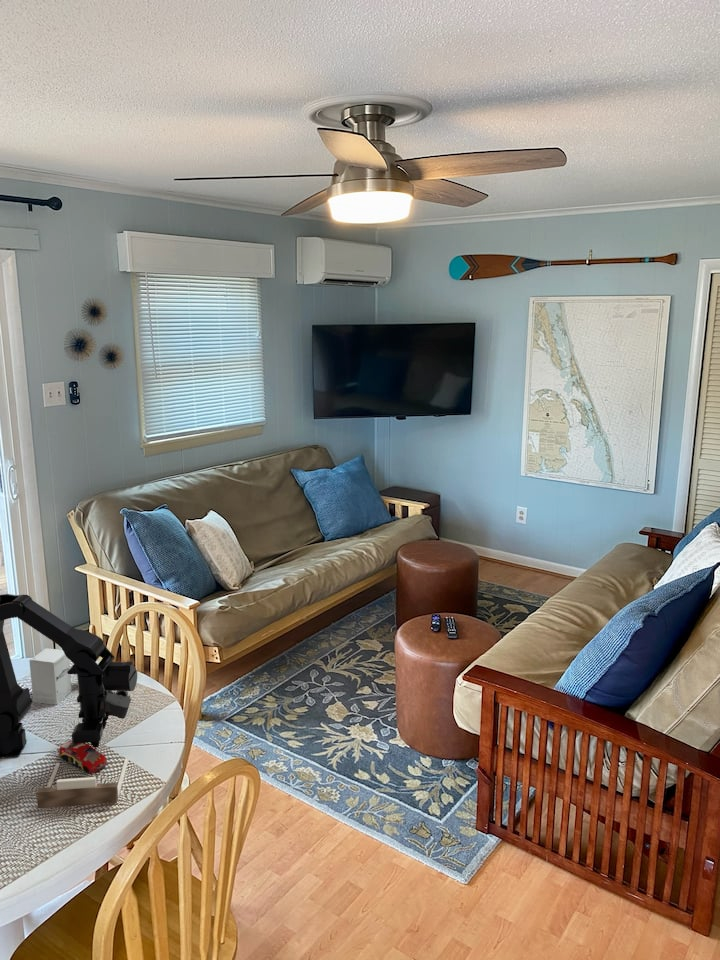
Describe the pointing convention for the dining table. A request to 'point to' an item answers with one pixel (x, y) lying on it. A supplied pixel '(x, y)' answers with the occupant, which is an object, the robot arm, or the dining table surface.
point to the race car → (82, 756)
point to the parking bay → (78, 791)
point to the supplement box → (50, 676)
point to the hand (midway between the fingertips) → (96, 746)
